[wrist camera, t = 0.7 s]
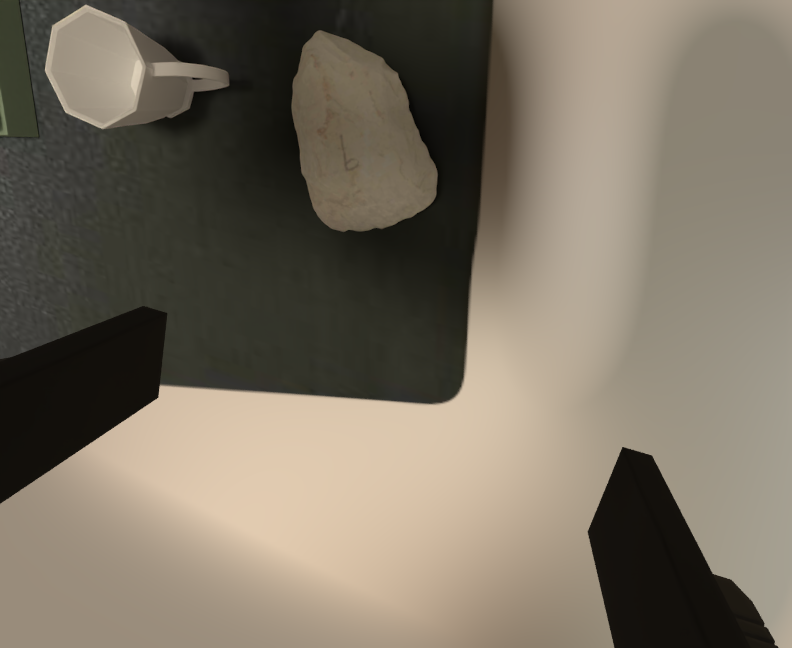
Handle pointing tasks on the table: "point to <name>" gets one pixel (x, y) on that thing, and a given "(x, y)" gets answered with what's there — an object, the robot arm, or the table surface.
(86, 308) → the table surface
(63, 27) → the cup
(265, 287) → the table surface
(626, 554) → the robot arm
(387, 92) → the stone
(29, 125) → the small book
